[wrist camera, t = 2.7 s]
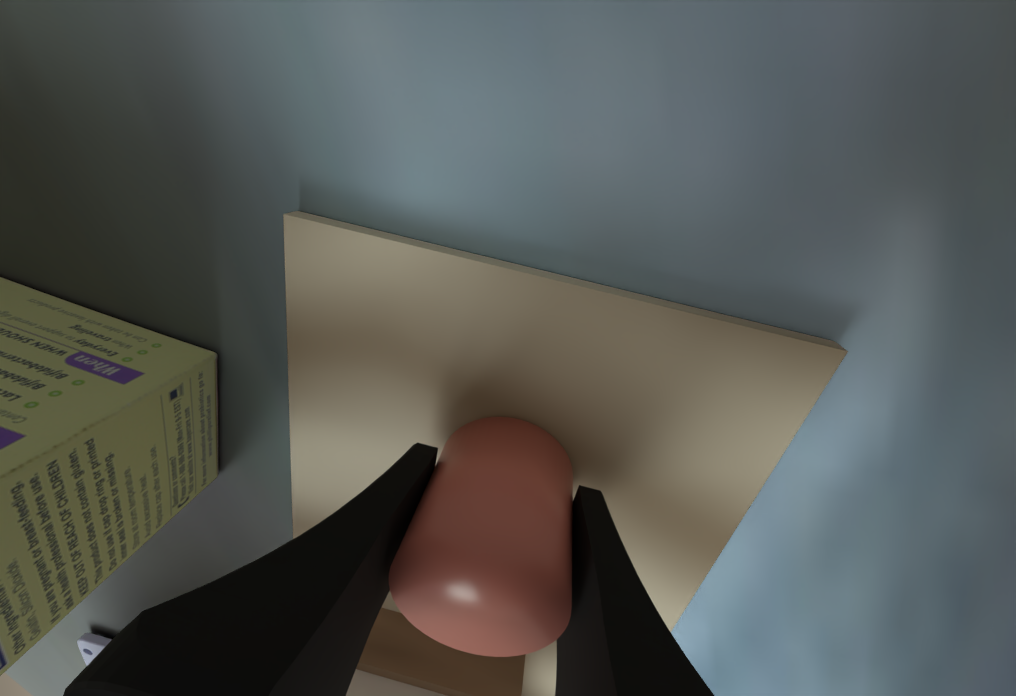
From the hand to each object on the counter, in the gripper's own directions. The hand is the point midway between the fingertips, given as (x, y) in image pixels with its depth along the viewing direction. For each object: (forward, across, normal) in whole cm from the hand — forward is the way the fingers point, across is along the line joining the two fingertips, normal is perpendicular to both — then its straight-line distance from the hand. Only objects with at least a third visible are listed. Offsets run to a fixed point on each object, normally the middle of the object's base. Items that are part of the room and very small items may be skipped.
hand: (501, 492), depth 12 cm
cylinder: (+1, 0, 0) cm, 1 cm away
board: (+2, 0, +6) cm, 6 cm away
